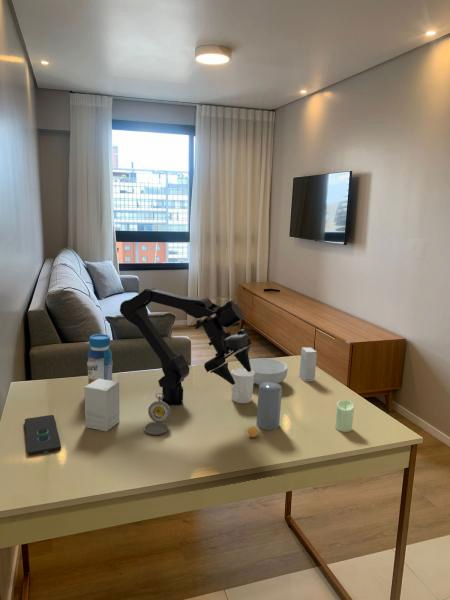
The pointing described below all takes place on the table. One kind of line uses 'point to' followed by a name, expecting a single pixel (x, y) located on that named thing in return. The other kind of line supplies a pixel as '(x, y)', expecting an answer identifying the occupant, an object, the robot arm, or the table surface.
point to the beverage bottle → (99, 358)
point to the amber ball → (252, 431)
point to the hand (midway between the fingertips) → (242, 377)
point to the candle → (344, 416)
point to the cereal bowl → (268, 370)
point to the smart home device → (42, 435)
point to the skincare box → (308, 364)
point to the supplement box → (102, 404)
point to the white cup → (242, 385)
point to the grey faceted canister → (269, 405)
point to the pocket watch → (158, 425)
